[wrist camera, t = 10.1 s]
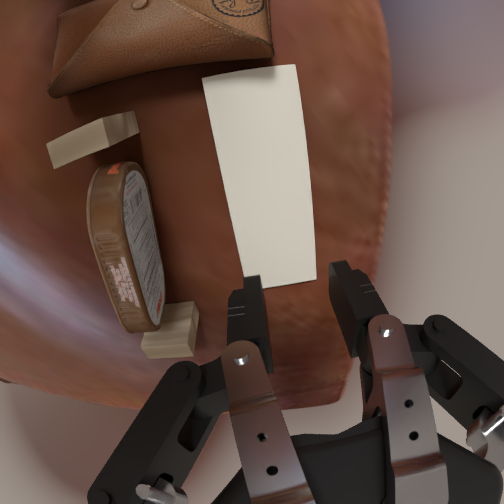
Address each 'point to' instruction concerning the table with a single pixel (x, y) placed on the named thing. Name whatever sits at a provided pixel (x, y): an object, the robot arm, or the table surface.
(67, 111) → the table surface
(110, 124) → the tin stand
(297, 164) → the tile
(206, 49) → the sunglasses case
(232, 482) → the robot arm
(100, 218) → the tin
